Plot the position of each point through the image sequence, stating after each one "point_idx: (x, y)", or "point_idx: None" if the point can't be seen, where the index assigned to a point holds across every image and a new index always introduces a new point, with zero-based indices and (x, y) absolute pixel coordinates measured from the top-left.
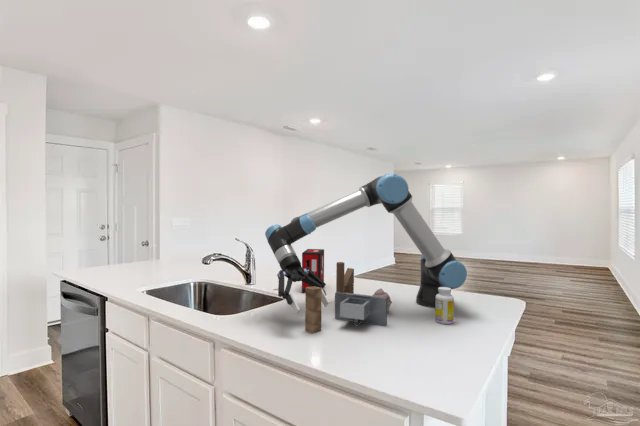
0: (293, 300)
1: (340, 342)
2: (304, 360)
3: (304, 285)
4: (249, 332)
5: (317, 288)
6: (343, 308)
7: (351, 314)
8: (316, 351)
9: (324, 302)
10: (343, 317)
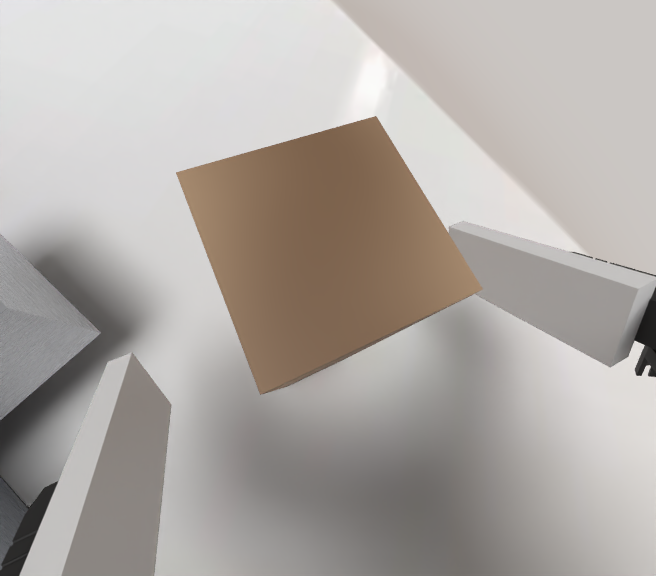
0: (545, 247)
1: None
2: (404, 90)
3: None
4: (620, 398)
5: (268, 168)
6: (29, 298)
7: (20, 264)
8: None
9: (152, 411)
10: (7, 509)
